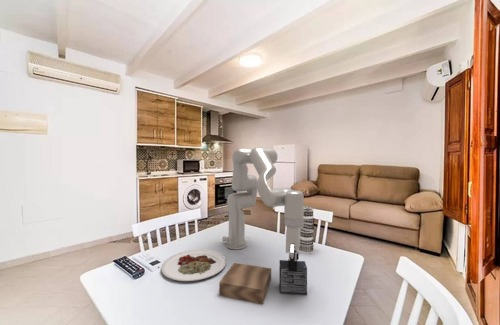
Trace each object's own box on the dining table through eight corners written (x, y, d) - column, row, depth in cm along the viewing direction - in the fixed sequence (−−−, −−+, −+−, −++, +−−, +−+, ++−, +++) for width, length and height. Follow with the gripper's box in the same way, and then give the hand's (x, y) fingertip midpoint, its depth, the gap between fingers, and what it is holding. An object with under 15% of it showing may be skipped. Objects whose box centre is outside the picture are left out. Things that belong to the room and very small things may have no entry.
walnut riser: (219, 295, 82) (219, 282, 82) (233, 273, 97) (234, 262, 97) (262, 303, 77) (263, 290, 77) (271, 279, 93) (271, 268, 93)
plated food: (212, 289, 86) (212, 280, 86) (146, 279, 92) (146, 272, 92) (233, 255, 116) (233, 249, 116) (182, 250, 122) (182, 244, 122)
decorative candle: (306, 255, 116) (307, 209, 116) (294, 249, 124) (294, 206, 124) (317, 251, 121) (318, 207, 121) (305, 246, 129) (305, 204, 129)
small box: (304, 285, 89) (305, 260, 89) (307, 295, 83) (307, 268, 82) (279, 283, 90) (279, 258, 90) (279, 293, 84) (280, 266, 83)
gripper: (286, 215, 95) (286, 254, 95) (281, 227, 78) (281, 274, 78) (304, 217, 93) (304, 256, 93) (302, 229, 76) (302, 277, 76)
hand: (293, 264), depth 86 cm, fingers open, 9 cm apart
